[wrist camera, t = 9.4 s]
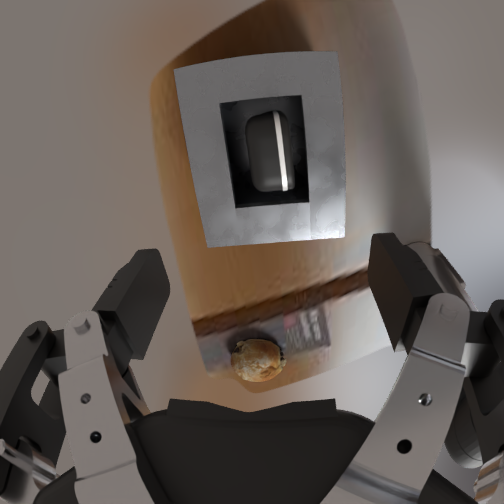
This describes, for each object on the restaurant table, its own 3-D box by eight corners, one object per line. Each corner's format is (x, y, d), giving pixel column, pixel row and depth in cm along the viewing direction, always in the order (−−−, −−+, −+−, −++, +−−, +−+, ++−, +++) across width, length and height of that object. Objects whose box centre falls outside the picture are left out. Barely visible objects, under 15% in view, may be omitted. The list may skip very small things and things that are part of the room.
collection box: (317, 63, 27) (337, 51, 18) (326, 200, 36) (344, 237, 27) (199, 75, 28) (173, 69, 20) (222, 209, 37) (207, 247, 29)
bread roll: (257, 319, 53) (237, 341, 46) (298, 351, 51) (284, 377, 44) (235, 346, 58) (215, 368, 51) (272, 375, 56) (257, 400, 49)
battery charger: (248, 111, 30) (239, 119, 20) (281, 108, 29) (288, 114, 20) (257, 167, 33) (251, 201, 24) (288, 164, 33) (296, 196, 23)
